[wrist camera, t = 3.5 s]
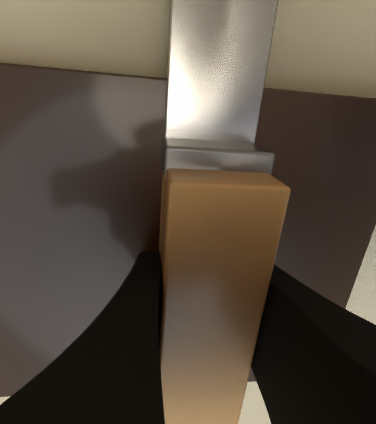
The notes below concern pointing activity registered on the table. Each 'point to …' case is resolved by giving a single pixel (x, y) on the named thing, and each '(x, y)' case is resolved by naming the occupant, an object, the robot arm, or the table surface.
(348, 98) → the board
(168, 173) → the knife
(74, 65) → the table surface
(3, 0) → the table surface
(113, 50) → the table surface
